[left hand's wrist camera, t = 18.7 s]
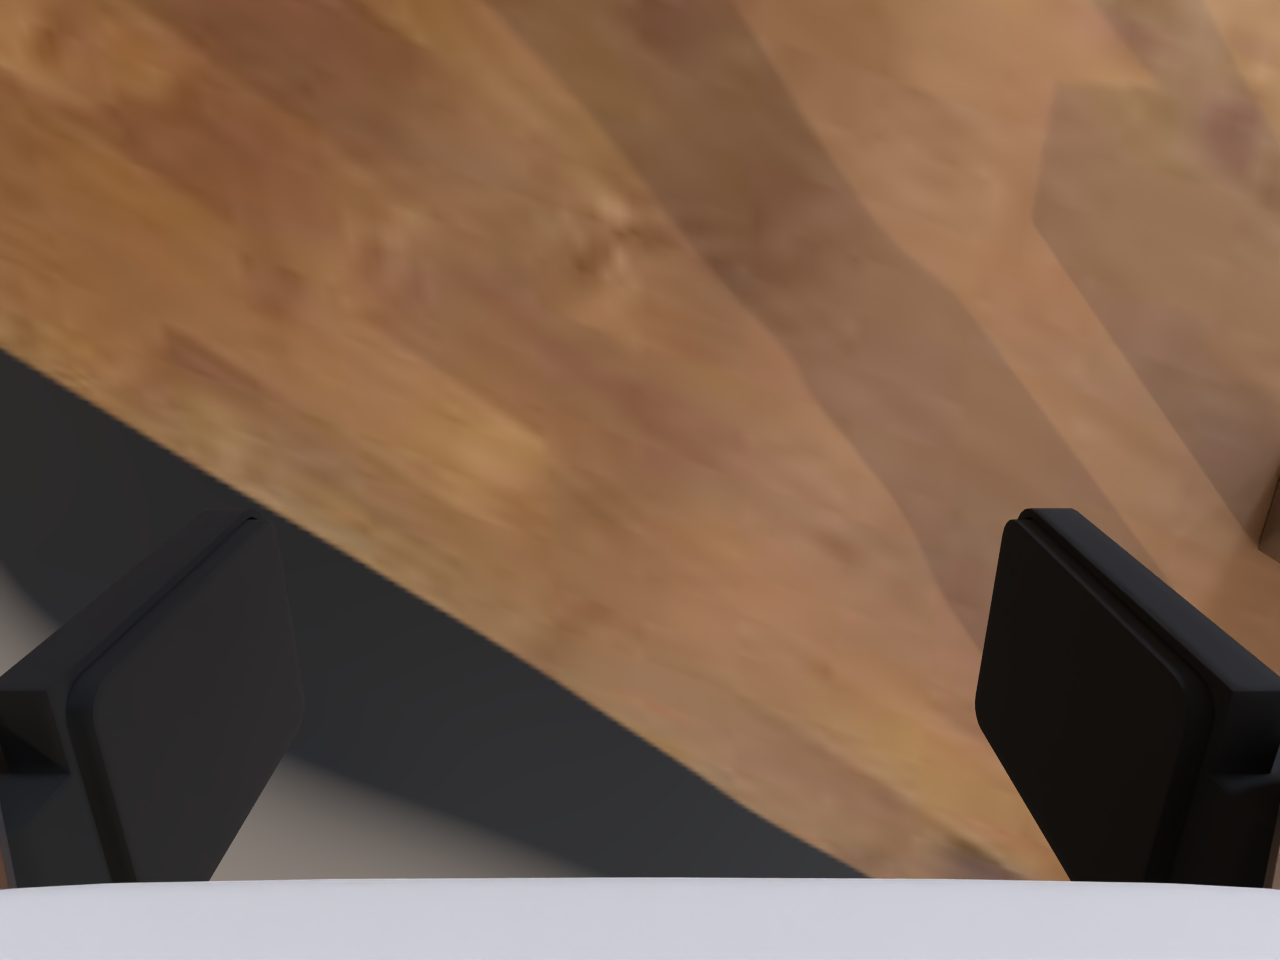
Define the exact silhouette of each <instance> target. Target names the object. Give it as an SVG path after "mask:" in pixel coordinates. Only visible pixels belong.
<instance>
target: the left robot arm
mask: <svg viewBox="0 0 1280 960" xmlns="http://www.w3.org/2000/svg"><path fill="white" fill-rule="evenodd" d="M304 710H305V698H304V691H303V685H302V679H301V673H300V667H299V661H298V655H297V649H296V643H295V637H294V631H293V625H292V619H291V613H290V607H289V601H288V595H287V589H286V583H285V577H284V571H283V565H282V559H281V553H280V548H279V542H278V535H277V531H276V528H275V525H274V523H273V522H272V521H271V520H263V519H262V517H261V516H260V514H259V512H257V511H256V510H255V509H250V508H209V509H206V510H204V511H203V512H201V513H200V514H199V515H198V516H196V517H195V518H194V519H193V520H191V521H190V522H189V523H188V524H187V525H185V526H184V527H183V528H182V529H180V530H179V531H178V532H177V533H176V534H174V535H173V536H172V537H171V538H169V539H168V540H167V541H166V542H165V543H163V544H162V545H161V546H160V547H158V548H157V549H156V550H155V551H154V552H152V553H151V554H150V555H149V556H148V557H146V558H145V559H144V560H143V561H141V562H140V563H139V564H138V565H137V566H135V567H134V568H133V569H132V570H130V571H129V572H128V573H127V574H125V575H124V576H123V577H122V578H121V579H119V580H118V581H117V582H116V583H114V584H113V585H112V586H111V587H110V588H108V589H107V590H106V591H105V592H103V593H102V594H101V595H100V596H99V597H97V598H96V599H95V600H94V601H92V602H91V603H90V604H89V605H88V606H86V607H85V608H84V609H83V610H81V611H80V612H79V613H78V614H77V615H75V616H74V617H73V618H72V619H70V620H69V621H68V622H67V623H66V624H64V625H63V626H62V627H61V628H59V629H58V630H57V631H56V632H55V633H53V634H52V635H51V636H50V637H48V638H47V639H46V640H45V641H44V642H42V643H41V644H40V645H39V646H37V647H36V648H35V649H34V650H33V651H31V652H30V653H29V654H28V655H26V656H25V657H24V658H23V659H22V660H20V661H19V662H18V663H17V664H15V665H14V666H13V667H12V668H11V669H9V670H8V671H7V672H6V673H4V674H3V675H2V676H1V677H0V960H1280V677H1279V676H1278V675H1277V674H1276V673H1274V672H1273V671H1272V670H1271V669H1269V668H1268V667H1267V666H1266V665H1265V664H1263V663H1262V662H1261V661H1260V660H1258V659H1257V658H1256V657H1255V656H1254V655H1252V654H1251V653H1250V652H1249V651H1247V650H1246V649H1245V648H1244V647H1243V646H1241V645H1240V644H1239V643H1238V642H1236V641H1235V640H1234V639H1233V638H1232V637H1230V636H1229V635H1228V634H1227V633H1225V632H1224V631H1223V630H1222V629H1221V628H1219V627H1218V626H1217V625H1216V624H1214V623H1213V622H1212V621H1211V620H1210V619H1208V618H1207V617H1206V616H1205V615H1203V614H1202V613H1201V612H1200V611H1199V610H1197V609H1196V608H1195V607H1194V606H1192V605H1191V604H1190V603H1189V602H1188V601H1186V600H1185V599H1184V598H1183V597H1181V596H1180V595H1179V594H1178V593H1177V592H1175V591H1174V590H1173V589H1172V588H1170V587H1169V586H1168V585H1167V584H1166V583H1164V582H1163V581H1162V580H1161V579H1159V578H1158V577H1157V576H1156V575H1155V574H1153V573H1152V572H1151V571H1150V570H1148V569H1147V568H1146V567H1145V566H1144V565H1142V564H1141V563H1140V562H1139V561H1137V560H1136V559H1135V558H1134V557H1133V556H1131V555H1130V554H1129V553H1128V552H1126V551H1125V550H1124V549H1123V548H1122V547H1120V546H1119V545H1118V544H1117V543H1115V542H1114V541H1113V540H1112V539H1111V538H1109V537H1108V536H1107V535H1106V534H1104V533H1103V532H1102V531H1101V530H1100V529H1098V528H1097V527H1096V526H1095V525H1093V524H1092V523H1091V522H1090V521H1089V520H1087V519H1086V518H1085V517H1084V516H1082V515H1081V514H1080V513H1079V512H1078V511H1076V510H1074V509H1072V508H1030V509H1025V510H1024V511H1022V512H1021V514H1020V515H1019V517H1018V519H1017V520H1009V521H1008V522H1007V523H1006V525H1005V527H1004V531H1003V535H1002V541H1001V547H1000V553H999V559H998V565H997V571H996V577H995V583H994V589H993V595H992V601H991V607H990V613H989V619H988V625H987V631H986V637H985V643H984V649H983V655H982V661H981V667H980V673H979V679H978V685H977V691H976V698H975V710H976V717H977V720H978V724H979V726H980V728H981V730H982V732H983V733H984V735H985V737H986V738H987V740H988V742H989V743H990V745H991V747H992V748H993V750H994V752H995V754H996V755H997V757H998V759H999V760H1000V762H1001V764H1002V765H1003V767H1004V769H1005V770H1006V772H1007V774H1008V775H1009V777H1010V779H1011V781H1012V782H1013V784H1014V786H1015V787H1016V789H1017V791H1018V792H1019V794H1020V796H1021V797H1022V799H1023V801H1024V802H1025V804H1026V806H1027V807H1028V809H1029V811H1030V813H1031V814H1032V816H1033V818H1034V819H1035V821H1036V823H1037V824H1038V826H1039V828H1040V829H1041V831H1042V833H1043V834H1044V836H1045V838H1046V840H1047V841H1048V843H1049V845H1050V846H1051V848H1052V850H1053V851H1054V853H1055V855H1056V856H1057V858H1058V860H1059V861H1060V863H1061V865H1062V867H1063V868H1064V870H1065V872H1066V873H1067V875H1068V877H1069V878H1070V880H1071V881H1024V880H970V879H839V878H838V879H837V878H836V879H835V878H444V879H443V878H441V879H311V880H256V881H209V880H210V878H211V877H212V875H213V873H214V872H215V870H216V868H217V867H218V865H219V863H220V861H221V860H222V858H223V856H224V855H225V853H226V851H227V850H228V848H229V846H230V845H231V843H232V841H233V840H234V838H235V836H236V834H237V833H238V831H239V829H240V828H241V826H242V824H243V823H244V821H245V819H246V818H247V816H248V814H249V813H250V811H251V809H252V807H253V806H254V804H255V802H256V801H257V799H258V797H259V796H260V794H261V792H262V791H263V789H264V787H265V786H266V784H267V782H268V780H269V779H270V777H271V775H272V774H273V772H274V770H275V769H276V767H277V765H278V764H279V762H280V760H281V758H282V757H283V755H284V753H285V752H286V750H287V748H288V747H289V745H290V743H291V742H292V740H293V738H294V736H295V735H296V733H297V732H298V730H299V728H300V726H301V723H302V720H303V717H304Z"/></svg>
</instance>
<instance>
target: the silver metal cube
mask: <svg viewBox="0 0 1280 960" xmlns="http://www.w3.org/2000/svg"><path fill="white" fill-rule="evenodd" d="M1258 550H1260V551H1261V552H1263V553H1264V554H1266V555H1268V556H1269V557H1271V558H1272V559H1274V560H1276V561H1277V562H1279V563H1280V479H1279V483H1278V486H1277V489H1276V492H1275V495H1274V499H1273V502H1272V505H1271V508H1270V511H1269V515H1268V518H1267V521H1266V524H1265V527H1264V531H1263V534H1262V537H1261V540H1260V543H1259V547H1258Z"/></svg>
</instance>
